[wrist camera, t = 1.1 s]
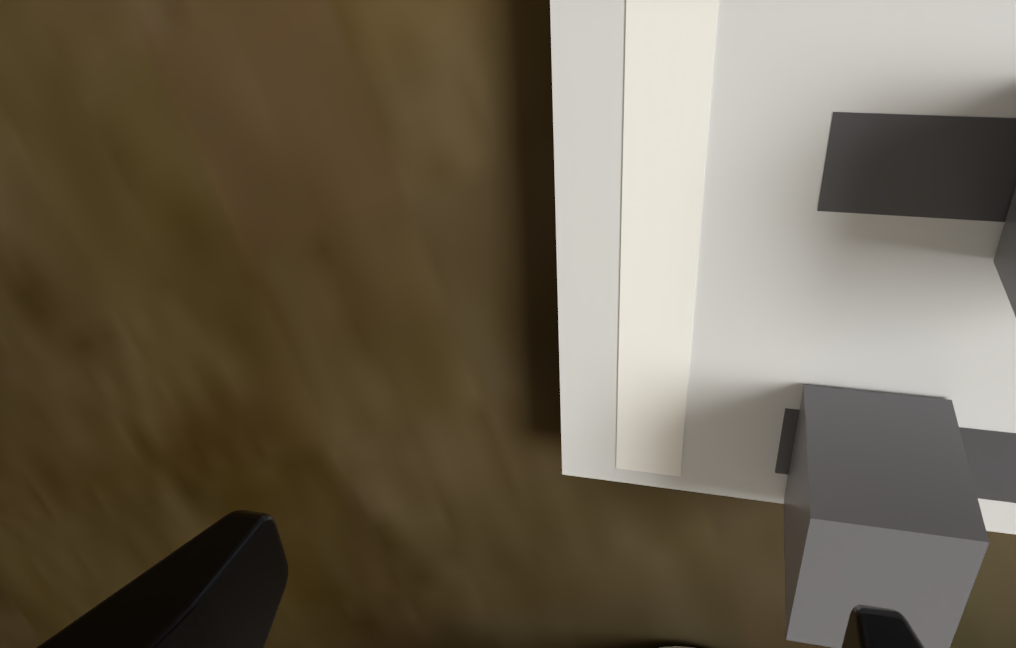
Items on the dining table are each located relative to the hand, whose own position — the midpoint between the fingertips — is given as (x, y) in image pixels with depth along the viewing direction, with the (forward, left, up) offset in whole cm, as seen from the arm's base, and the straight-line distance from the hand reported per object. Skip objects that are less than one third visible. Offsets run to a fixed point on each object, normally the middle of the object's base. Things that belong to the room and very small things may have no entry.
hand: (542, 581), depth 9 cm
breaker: (-5, +7, -10) cm, 13 cm away
